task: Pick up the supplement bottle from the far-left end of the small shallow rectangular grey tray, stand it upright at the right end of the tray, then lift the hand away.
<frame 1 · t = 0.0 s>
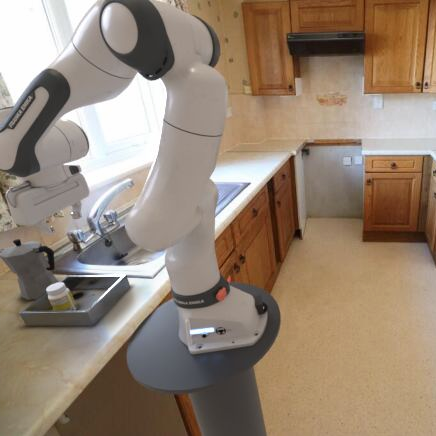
hand: (64, 225, 85), 24 cm above the counter, tool pointing down, fingers open, 8 cm apart
shallow rectangular grey tray: (82, 304, 92), on the counter
supplement bottle: (67, 311, 90), resting in shallow rectangular grey tray
coffeepot: (45, 291, 99), on the counter
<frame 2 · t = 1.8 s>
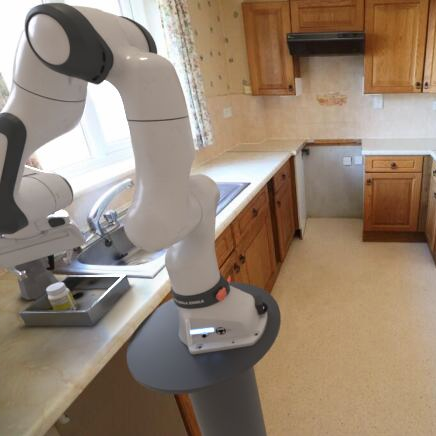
hand: (47, 271, 85), 13 cm above the counter, tool pointing down, fingers open, 8 cm apart
nothing on the counter moved.
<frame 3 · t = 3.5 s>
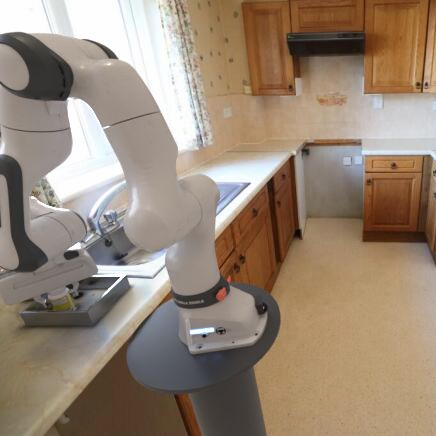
hand: (62, 300, 89), 4 cm above the counter, tool pointing down, fingers closed on supplement bottle, 5 cm apart
supplement bottle: (67, 311, 90), resting in shallow rectangular grey tray, touching gripper
everything else where it was.
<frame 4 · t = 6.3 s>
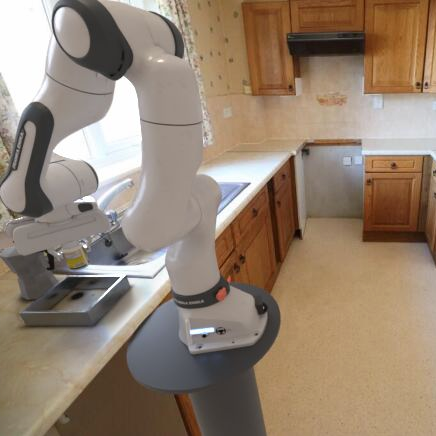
hand: (75, 255, 88), 15 cm above the counter, tool pointing down, fingers closed on supplement bottle, 5 cm apart
supplement bottle: (80, 267, 90), point 11 cm above the counter, touching gripper
everything else where it was.
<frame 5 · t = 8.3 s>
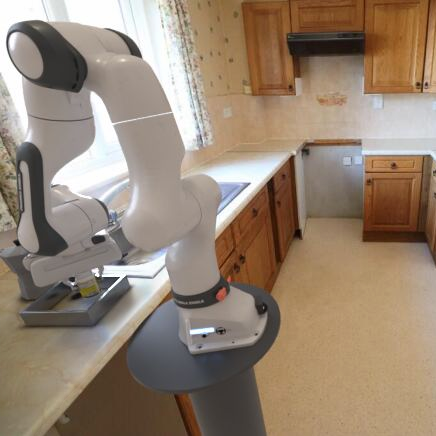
hand: (88, 284, 92), 5 cm above the counter, tool pointing down, fingers closed on supplement bottle, 5 cm apart
supplement bottle: (92, 294, 94), point 2 cm above the counter, touching gripper
everything else where it was.
when the fingers open (3 cm above the counter, at t = 9.3 s): supplement bottle stays where it is, resting in shallow rectangular grey tray.
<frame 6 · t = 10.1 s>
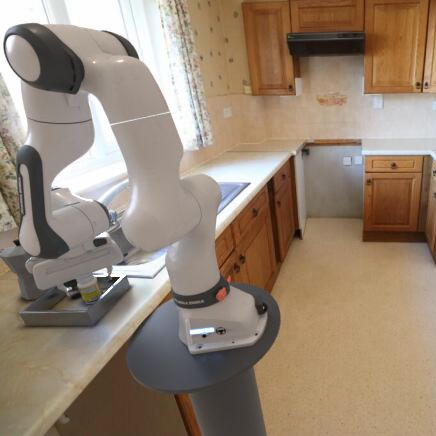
hand: (90, 286, 93), 5 cm above the counter, tool pointing down, fingers open, 8 cm apart
supplement bottle: (94, 299, 95), resting in shallow rectangular grey tray
everything else where it was.
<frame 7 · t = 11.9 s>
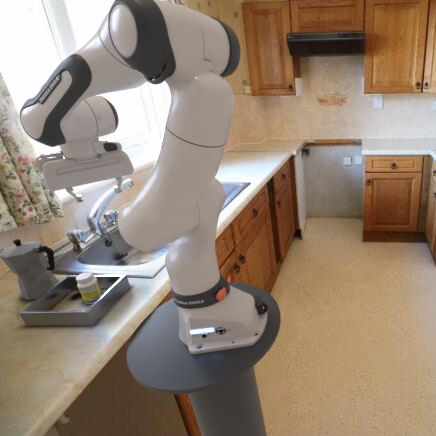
hand: (99, 196, 91), 28 cm above the counter, tool pointing down, fingers open, 8 cm apart
nothing on the counter moved.
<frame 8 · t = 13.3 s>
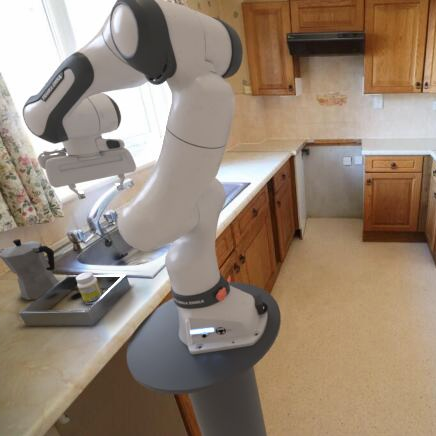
hand: (102, 193, 91), 29 cm above the counter, tool pointing down, fingers open, 8 cm apart
nothing on the counter moved.
at the end: supplement bottle 0.1 cm from the target spot, resting in shallow rectangular grey tray; supplement bottle tilted 0°; the gripper is holding nothing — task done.
